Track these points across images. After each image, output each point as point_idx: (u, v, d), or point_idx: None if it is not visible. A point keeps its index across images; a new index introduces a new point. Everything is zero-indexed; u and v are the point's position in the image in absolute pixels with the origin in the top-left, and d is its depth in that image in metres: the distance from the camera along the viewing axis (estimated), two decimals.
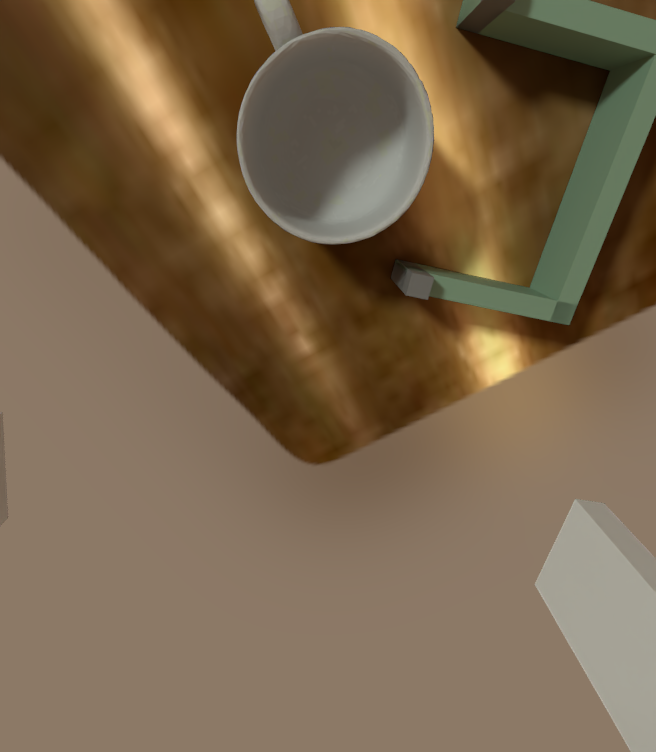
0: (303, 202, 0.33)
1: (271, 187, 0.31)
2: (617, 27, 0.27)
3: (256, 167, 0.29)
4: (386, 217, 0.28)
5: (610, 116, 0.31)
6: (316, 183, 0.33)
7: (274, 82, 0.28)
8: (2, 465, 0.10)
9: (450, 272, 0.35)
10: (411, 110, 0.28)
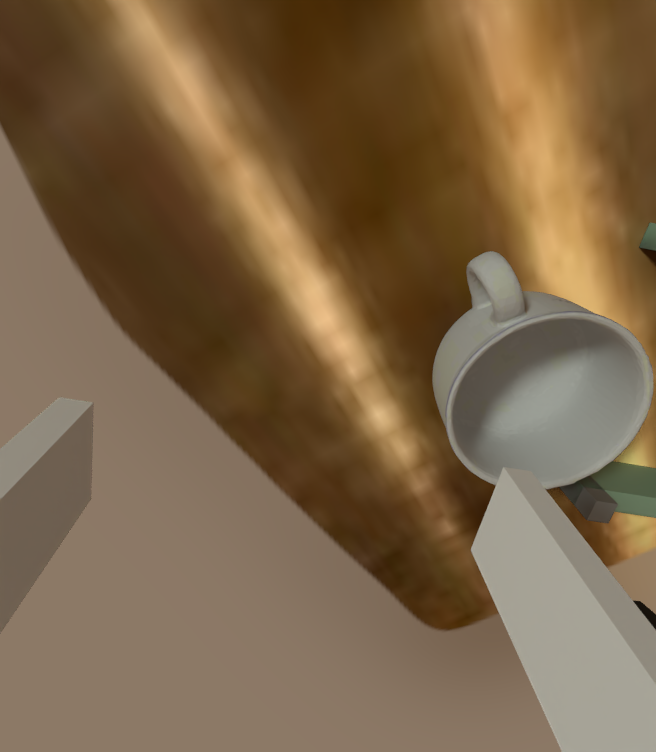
0: (470, 411, 0.32)
1: None
2: None
3: None
4: (585, 464, 0.27)
5: None
6: (483, 392, 0.32)
7: None
8: (90, 451, 0.11)
9: (609, 467, 0.35)
10: (613, 356, 0.27)
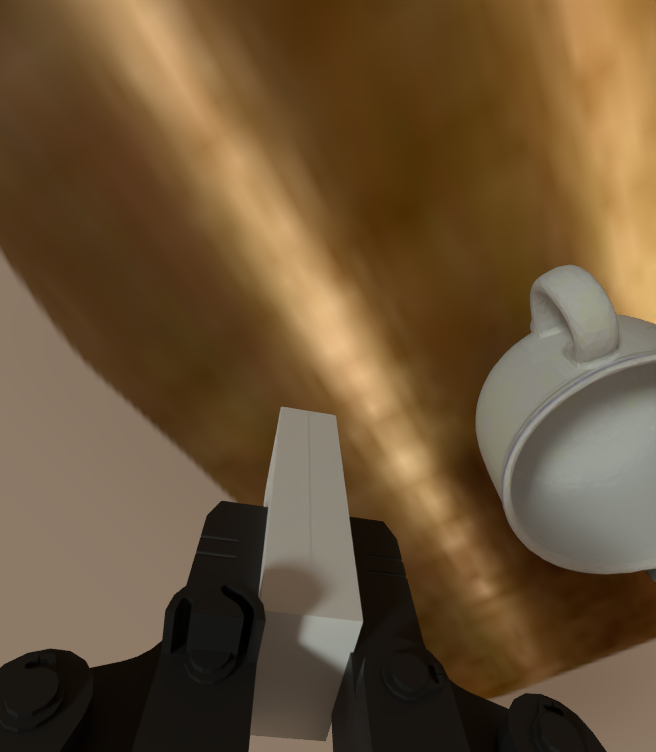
0: (519, 459, 0.26)
1: None
2: None
3: None
4: None
5: None
6: (536, 435, 0.26)
7: None
8: None
9: None
10: None
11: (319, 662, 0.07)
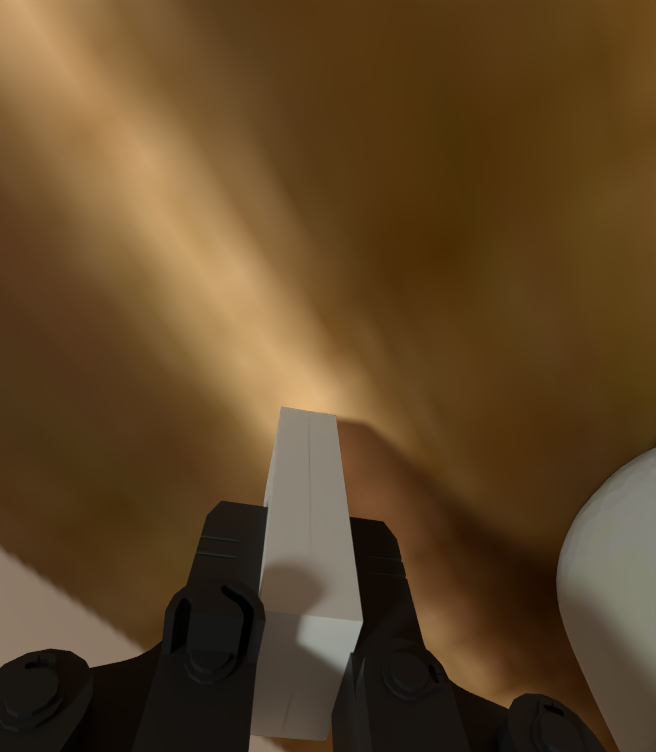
0: None
1: None
2: None
3: None
4: None
5: None
6: None
7: None
8: None
9: None
10: None
11: (319, 662, 0.07)
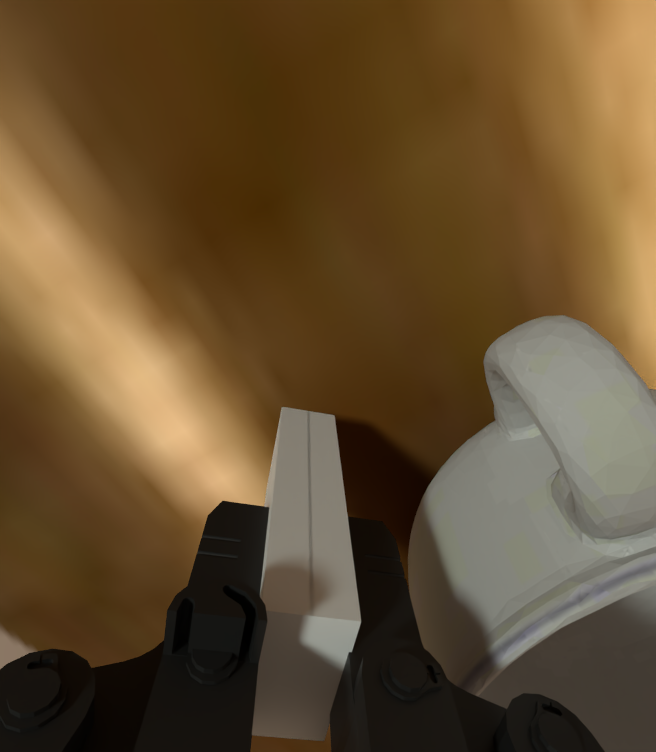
0: None
1: None
2: None
3: None
4: None
5: None
6: None
7: None
8: None
9: None
10: None
11: (318, 662, 0.07)
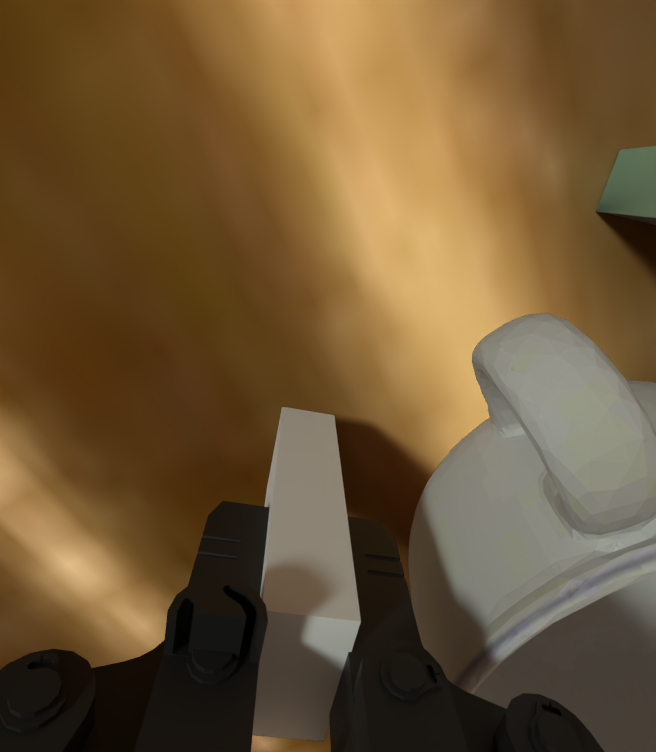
0: None
1: None
2: None
3: None
4: None
5: None
6: None
7: None
8: None
9: None
10: None
11: (317, 662, 0.07)
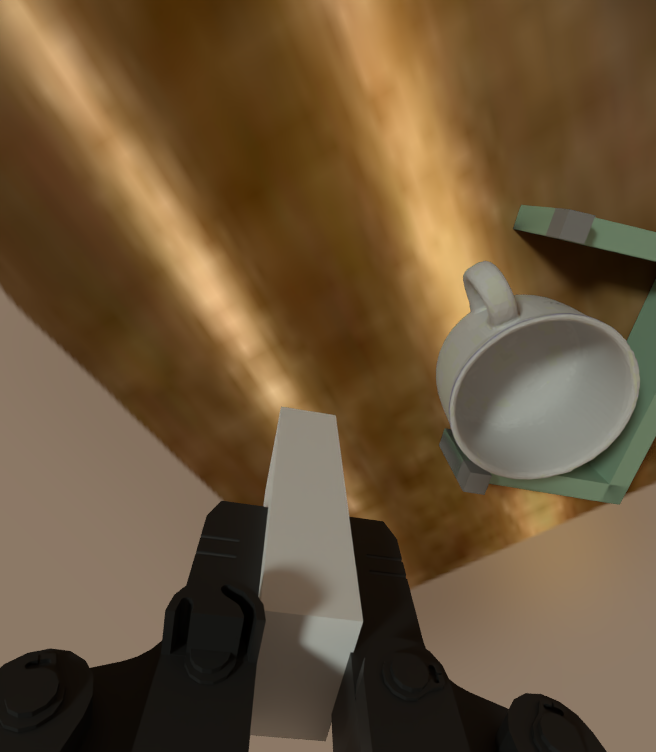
0: (472, 408, 0.34)
1: None
2: None
3: None
4: (581, 453, 0.29)
5: None
6: (484, 389, 0.34)
7: None
8: None
9: None
10: (603, 352, 0.29)
11: (319, 662, 0.07)
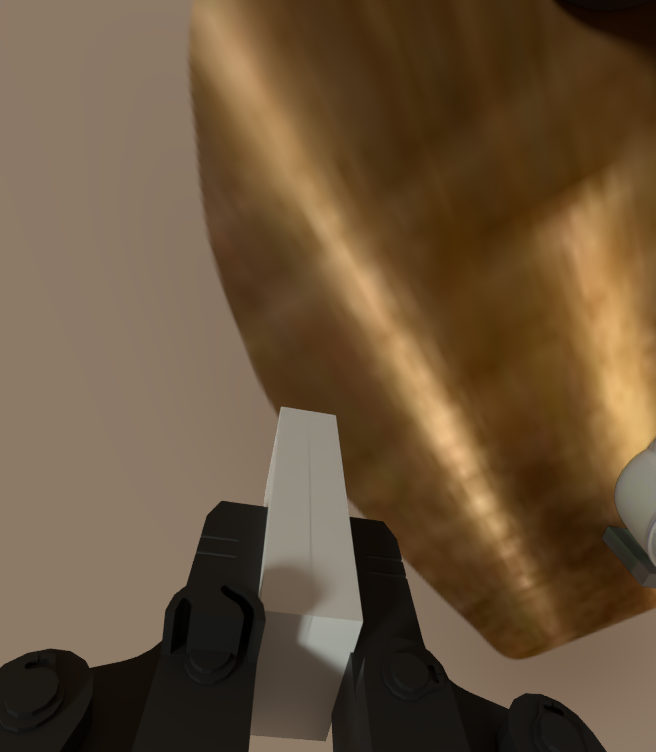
0: None
1: None
2: None
3: None
4: None
5: None
6: None
7: None
8: None
9: None
10: None
11: (319, 662, 0.07)
